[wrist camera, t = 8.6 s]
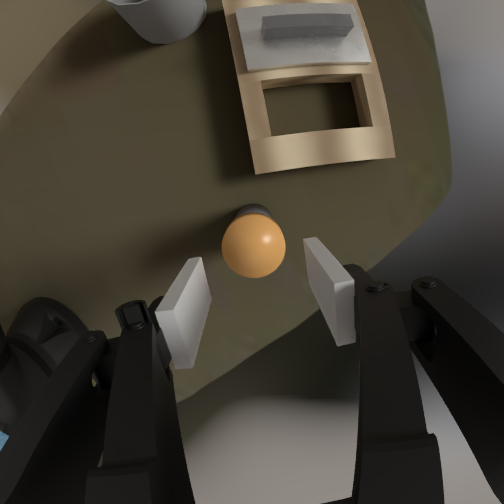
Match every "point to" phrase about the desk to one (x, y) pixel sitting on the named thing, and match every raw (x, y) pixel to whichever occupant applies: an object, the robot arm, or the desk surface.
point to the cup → (162, 18)
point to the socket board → (251, 84)
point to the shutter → (301, 35)
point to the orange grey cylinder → (253, 242)
